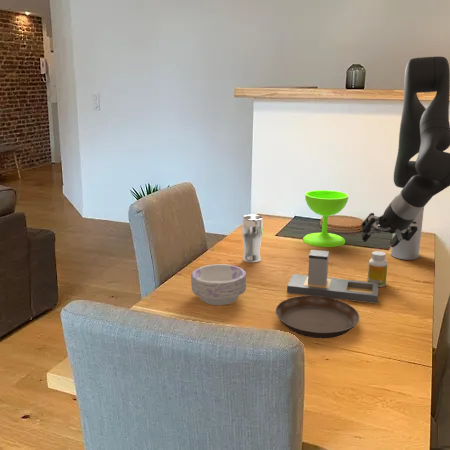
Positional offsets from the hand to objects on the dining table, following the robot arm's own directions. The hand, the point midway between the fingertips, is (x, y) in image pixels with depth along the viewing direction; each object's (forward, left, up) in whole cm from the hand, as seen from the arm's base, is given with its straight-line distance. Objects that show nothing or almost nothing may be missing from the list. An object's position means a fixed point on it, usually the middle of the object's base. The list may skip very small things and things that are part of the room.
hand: (377, 242), depth 151 cm
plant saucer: (+28, -13, -15) cm, 35 cm away
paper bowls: (+21, -41, -14) cm, 49 cm away
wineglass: (-44, -19, -14) cm, 50 cm away
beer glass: (-14, -40, -14) cm, 45 cm away
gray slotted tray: (+6, -11, -14) cm, 19 cm away
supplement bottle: (-4, +1, -14) cm, 15 cm away
